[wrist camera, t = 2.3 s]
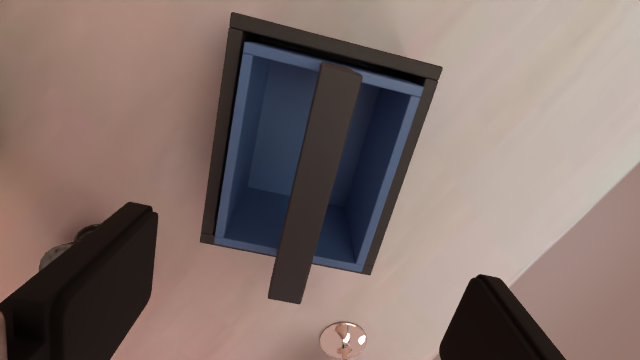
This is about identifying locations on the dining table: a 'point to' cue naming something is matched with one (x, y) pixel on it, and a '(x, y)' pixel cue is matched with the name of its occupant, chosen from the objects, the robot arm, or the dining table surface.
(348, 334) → the wineglass
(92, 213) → the dining table surface
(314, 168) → the blue tote
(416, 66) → the black tote
